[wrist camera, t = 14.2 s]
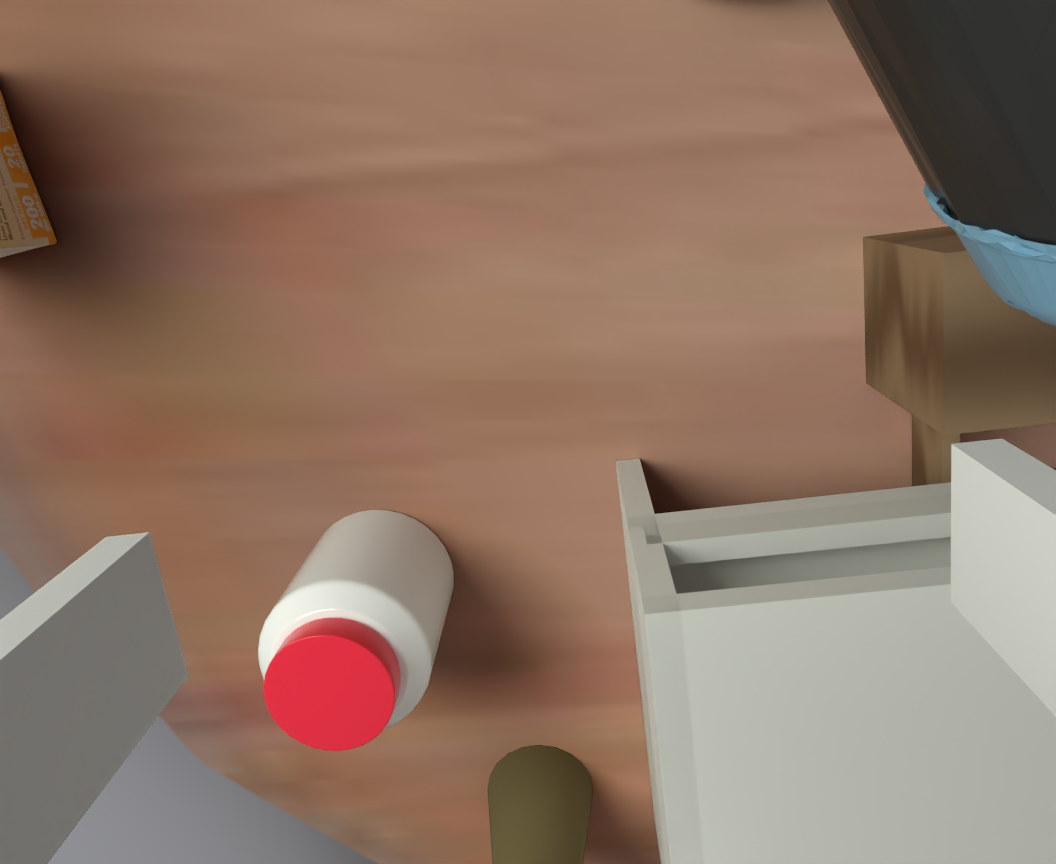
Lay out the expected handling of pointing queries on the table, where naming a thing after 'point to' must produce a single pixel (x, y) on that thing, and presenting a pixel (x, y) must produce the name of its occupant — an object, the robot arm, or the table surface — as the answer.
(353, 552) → the pill bottle
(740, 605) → the shelf cabinet
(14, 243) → the supplement box
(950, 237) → the tan block on stick
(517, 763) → the olive rounded cylinder
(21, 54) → the table surface
